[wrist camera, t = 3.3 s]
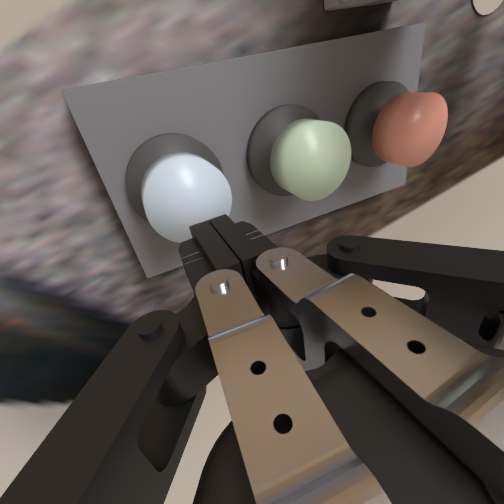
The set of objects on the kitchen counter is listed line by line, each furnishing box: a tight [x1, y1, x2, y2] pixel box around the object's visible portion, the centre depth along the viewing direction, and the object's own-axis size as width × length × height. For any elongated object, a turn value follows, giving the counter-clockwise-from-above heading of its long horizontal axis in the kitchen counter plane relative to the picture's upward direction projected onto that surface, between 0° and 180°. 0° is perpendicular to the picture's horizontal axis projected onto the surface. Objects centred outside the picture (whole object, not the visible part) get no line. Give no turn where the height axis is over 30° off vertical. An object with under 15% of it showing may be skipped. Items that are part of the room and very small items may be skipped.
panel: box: [61, 22, 426, 279], centre depth 21 cm, size 24×12×3 cm, turn 101°
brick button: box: [372, 92, 448, 167], centre depth 20 cm, size 5×5×2 cm
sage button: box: [270, 119, 351, 201], centre depth 18 cm, size 5×5×2 cm
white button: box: [141, 152, 232, 243], centre depth 16 cm, size 5×5×2 cm
